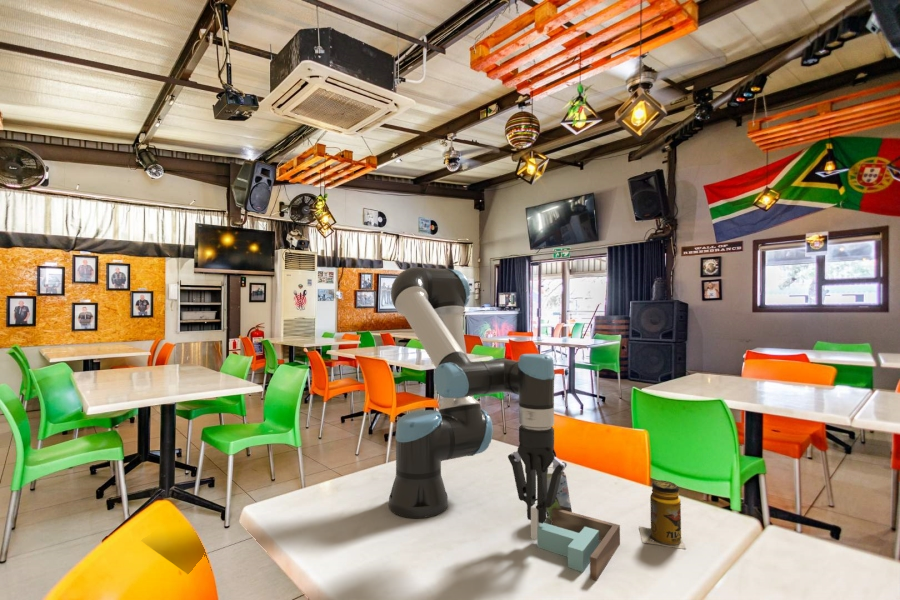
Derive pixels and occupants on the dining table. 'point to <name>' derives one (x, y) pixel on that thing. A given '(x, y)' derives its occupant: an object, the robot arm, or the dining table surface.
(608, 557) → the corner fence
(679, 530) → the condiment
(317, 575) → the dining table surface
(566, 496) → the beverage can
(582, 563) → the t block
